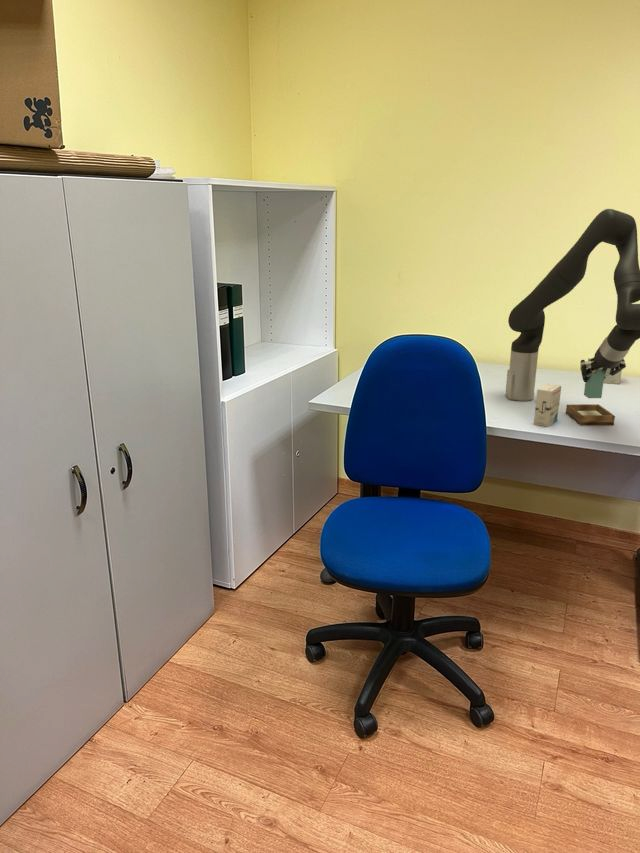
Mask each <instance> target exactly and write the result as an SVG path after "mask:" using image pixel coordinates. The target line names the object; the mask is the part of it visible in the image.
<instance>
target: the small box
mask: <svg viewBox="0 0 640 853" xmlns="http://www.w3.org/2000/svg"><path fill="white" fill-rule="evenodd" d="M614 371H615V369H614ZM622 371H623V369H622V370H621V371H619V372H618V373H617V374H615V375H613V376H611V375H609V376H607V377H606V378H605V379H604V382H603V384H614V385H621V377H622Z"/></svg>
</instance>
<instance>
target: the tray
mask: <svg viewBox="0 0 640 853" xmlns="http://www.w3.org/2000/svg"><path fill="white" fill-rule="evenodd" d="M565 414H566V415H567V414H568V415H569V418H570V419H572V420H573V419H574V420H575V421H576V422H575V421H574V420H573V421H574V422H575V423H577V424H578V425H579V424H580V425H579V426H614V425H615V418H616V415H614V414H613V413H611V412H610V411H609V410H607V409H606V408H605V407H603V406H602V405H600V404H598V403H596V404H595V403H593V404H589V403H587V404H584V403H583V404H576V403H574V404H566V406H565ZM568 415H567V416H568Z"/></svg>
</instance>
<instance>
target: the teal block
mask: <svg viewBox="0 0 640 853" xmlns="http://www.w3.org/2000/svg"><path fill="white" fill-rule="evenodd" d="M592 358H593V357H591V358H588V359H587V361H590V360H591V359H592ZM588 367H589V366H588ZM604 373H605V371H598V372H597V373H596V374H593V375H591V376H590V378H589V380H588V381H587V382H584V388H583V389H584V391H583V396H584V397H586V398H587V399H602V396H603V395H602V394H603V389H604V383H603V382H604Z"/></svg>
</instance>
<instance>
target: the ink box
mask: <svg viewBox="0 0 640 853" xmlns="http://www.w3.org/2000/svg"><path fill="white" fill-rule="evenodd" d="M561 394H562V385H559V384H553V383H552V384H551V383H545V384H544V385H542V386H540V387H539V388H537V391H536V400H535V409H534V418H533V424H534V425H537V426H541V427H546V426H547V427H550V426H551V425H553V424H554V423H555V422H556V421H558V415H559V407H560V401H561Z"/></svg>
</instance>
